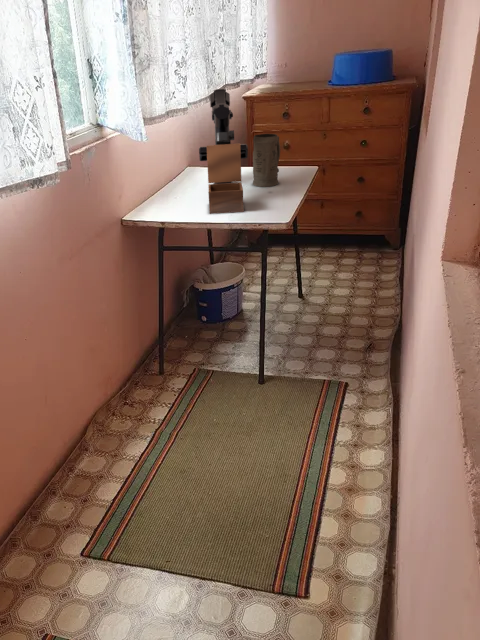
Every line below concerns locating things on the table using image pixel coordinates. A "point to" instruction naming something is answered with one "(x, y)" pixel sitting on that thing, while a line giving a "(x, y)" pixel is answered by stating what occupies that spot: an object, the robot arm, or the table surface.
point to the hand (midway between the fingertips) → (224, 171)
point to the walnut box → (225, 198)
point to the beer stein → (266, 160)
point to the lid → (224, 163)
